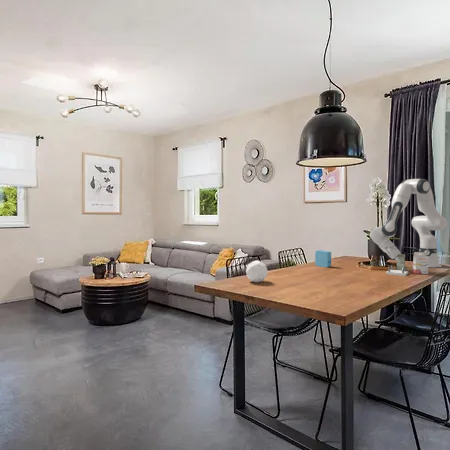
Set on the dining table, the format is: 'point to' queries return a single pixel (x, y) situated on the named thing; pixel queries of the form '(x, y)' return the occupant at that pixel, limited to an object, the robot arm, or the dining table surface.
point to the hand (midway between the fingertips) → (401, 261)
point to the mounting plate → (397, 272)
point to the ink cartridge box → (420, 263)
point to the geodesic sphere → (256, 271)
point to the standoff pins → (392, 269)
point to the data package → (323, 258)
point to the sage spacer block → (402, 263)
